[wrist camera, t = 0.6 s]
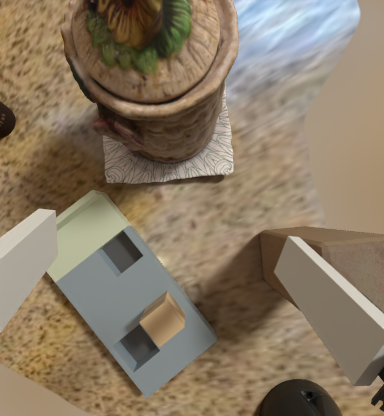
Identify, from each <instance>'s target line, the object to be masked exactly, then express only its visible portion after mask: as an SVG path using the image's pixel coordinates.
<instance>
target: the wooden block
mask: <svg viewBox="0 0 384 416" xmlns="http://www.w3.org/2000/svg"><path fill="white" fill-rule="evenodd" d="M288 236H294V237H300V238H301V239H302V240H303V241H304V242H305V243H306V244H307V245H308V246H310V247H311V248H312V249H313V250H314V251H315V252H316V253H317V254H318V255H320V256H321V257H322V258H323V259H324V260H325V261H326V262H327V263H328V264H329V265H331V266H332V267H333V268H334V269H335V270H336V271H337V272H338V273H339V274H340V275H342V276H343V277H344V278H345V279H346V280H347V281H348V282H349V283H350V284H351V285H353V286H354V287H355V288H356V289H357V290H358V291H360V292H361V293H363V294H364V295H365V296H366V297H368V298H369V299H370V300H371V301H372V302H373V304H374V305H376V306H378V307H379V308H380V309H381V310H382V312H384V235H383V234H374V233H364V232H354V231H344V230H335V229H325V228H315V227H295V228H284V229H273V230H264V231H262V232H261V233H260V244H261V254H262V264H263V274H264V279H265V281H266V282H267V283H268V284H269V285H270V286H272V287H273V288H274V289H275V290H276V291H277V292H279V293H280V294H281V295H282V296H283V297H285V298H286V299H287V300H288V301H289V302H291V303H292V304H293V305H294V306H295V307H296V308H298V309H299V307H298V306H297V305H296V303H295V302H294V300H293V299H292V297H291V296H290V294H289V293H288V292H287V290H286V289H285V287H284V286H283V284H282V283H281V282H280V280H279V279H278V277H277V276H276V274H275V273H274V270H275V268H276V265H277V263H278V260H279V258H280V255H281V253H282V250H283V248H284V245H285V242H286V240H287V237H288ZM299 310H300V309H299ZM300 311H301V310H300Z"/></svg>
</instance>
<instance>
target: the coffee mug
mask: <svg viewBox="0 0 384 416" xmlns="http://www.w3.org/2000/svg"><path fill="white" fill-rule="evenodd" d="M15 122H16V120H15V116H14V114H13V112H12V111H11V110H10V109H9V108H8V107H7V106H5V105H4V104H3V103H1V102H0V138H1V137H5V136H7V135H9V134H10V133H11V132H12V131H13V129H14V127H15Z"/></svg>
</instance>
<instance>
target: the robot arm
mask: <svg viewBox="0 0 384 416" xmlns="http://www.w3.org/2000/svg"><path fill="white" fill-rule="evenodd" d="M57 256H58V245H57V226H56V210H47V209H38V210H36V211H35V212H34V213H33V214H31V215H30V216H29V217H27V218H26V219H25V220H23V221H22V222H21V223H19V224H18V225H17V226H15V227H14V228H13V229H11V230H10V231H9V232H7V233H6V234H5V235H3V236H2V237H1V238H0V332H1V331H2V330H3V328H4V327H5V326H6V324H7V323H8V322H9V320H10V319H11V318H12V316H13V315H14V314H15V312H16V311H17V310H18V308H19V307H20V306H21V304H22V303H23V302H24V300H25V299H26V298H27V296H28V295H29V294H30V292H31V291H32V290H33V288H34V287H35V286H36V284H37V283H38V282H39V280H40V279H41V278H42V276H43V275H44V274H45V272H46V271H47V270H48V268H49V267H50V266H51V264H52V263H53V262H54V260H55V259H56V258H57ZM274 273H275V274H276V276H277V277H278V279H279V280H280V282H281V283H282V284H283V286H284V287H285V289H286V290H287V292H288V293H289V294H290V296H291V297H292V299H293V300H294V302H295V303H296V305H297V306H298V307H299V309H300V310H301V312H302V313H303V315H304V316H305V317H306V319H307V320H308V322H309V323H310V325H311V326H312V327H313V329H314V330H315V332H316V333H317V335H318V336H319V338H320V339H321V340H322V342H323V343H324V345H325V346H326V348H327V349H328V350H329V352H330V353H331V355H332V356H333V358H334V359H335V360H336V362H337V363H338V365H339V366H340V368H341V369H342V370H343V372H344V373H345V375H346V376H347V378H348V379H349V381H350V382H351V383H352V385H353V386H370V385H371V384H372V382H373V381H374V380H375V378H376V377H377V376H378V375H379V377H380V378H381V379H382V380H383V382H384V312H382V310H381V309H380V308H379V307H378V306H376V305H374V304H373V302H372V301H371V300H370V299H369V298H368V297H366V296H365V295H364V294H363V293H361V292H360V291H358V290H357V289H356V288H355V287H354V286H353V285H351V284H350V283H349V282H348V281H347V280H346V279H345V278H344V277H343V276H342V275H340V274H339V273H338V272H337V271H336V270H335V269H334V268H333V267H332V266H331V265H329V264H328V263H327V262H326V261H325V260H324V259H323V258H322V257H321V256H320V255H318V254H317V253H316V252H315V251H314V250H313V249H312V248H311V247H310V246H308V245H307V244H306V243H305V242H304V241H303V240H302V239H301V238H300V237H294V236H288V237H287V240H286V242H285V245H284V248H283V250H282V253H281V255H280V258H279V260H278V263H277V265H276V268H275V270H274ZM379 400H381V401H383V405H382V406H381V407H380V410H382V411H384V385H383V386H382V387H381V388H380V389H379V391H378V392H377V393H376V394H375V396H374V397H373V398H372V401H371V404H372V405H374V406H375V405H376V404H377V402H378V401H379ZM260 416H342V413H341V411H340V409H339V407H338V406H337V404H336V403H335V402H334V400H333V399H332V398H331V396H330V395H329V394H328V393H327V392H326V391H325V390H324V389H323V388H322V387H321V386H319V385H318V384H316V383H314V382H311V381H308V380H302V379H295V380H289V381H286V382H284V383H281V384H280V385H278V386H276V387H275V388H274V389H273V390H272V391H271V392H270V393H269V394H268V395H267V397H266V398H265V400H264V402H263V404H262V407H261V411H260Z"/></svg>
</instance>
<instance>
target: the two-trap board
mask: <svg viewBox="0 0 384 416" xmlns="http://www.w3.org/2000/svg"><path fill="white" fill-rule="evenodd" d="M56 226H57V245H58V256H57V258H56V259H55V260H54V262H53V263H52V264H51V266H50V267H49V268H48V270H47V271H46V272H47V273H48V274H49V275H50V277H51V278H52V279H53V281H54V282H55V283H56V284H57V286H58V287H59V288H60V289H61V291H62V292H63V293H64V294H65V296H66V297H67V298H68V300H69V301H70V302H71V303H72V305H73V306H74V307H75V308H76V310H77V311H78V312H79V314H80V315H81V316H82V317H83V319H84V320H85V321H86V322H87V324H88V325H89V326H90V327H91V329H92V330H93V331H94V333H95V334H96V335H97V336H98V338H99V339H100V340H101V341H102V343H103V344H104V345H105V347H106V348H107V349H108V350H109V352H110V353H111V354H112V355H113V357H114V358H115V359H116V361H117V362H118V363H119V364H120V366H121V367H122V368H123V369H124V371H125V372H126V373H127V374H128V376H129V377H130V378H131V380H132V381H133V382H134V383H135V385H136V386H137V387H138V388H139V390H140V391H141V392H142V394H143V395H144V396H145V397H146V399H147V398H148V397H150V396H151V395H152V394H153V393H154V392H156V391H157V390H158V389H159V388H160V387H162V386H163V385H164V384H165V383H167V382H168V381H169V380H170V379H171V378H173V377H174V376H175V375H176V374H177V373H179V372H180V371H181V370H182V369H183V368H185V367H186V366H187V365H188V364H189V363H191V362H192V361H193V360H194V359H195V358H197V357H198V356H199V355H200V354H202V353H203V352H204V351H205V350H206V349H208V348H209V347H210V346H211V345H212V344H214V343H215V342H216V341H217V336H216V332H215V330H214V329H213V328H212V326H211V325H210V324H209V323H208V321H207V320H206V319H205V318H204V316H203V315H202V314H201V313H200V311H199V310H198V309H197V307H196V306H195V305H194V304H193V302H192V301H191V300H190V299H189V297H188V296H187V295H186V294H185V292H184V291H183V290H182V289H181V287H180V286H179V285H178V283H177V282H176V281H175V280H174V278H173V277H172V276H171V275H170V273H169V272H168V271H167V270H166V268H165V267H164V266H163V265H162V263H161V262H160V261H159V259H158V258H157V257H156V256H155V254H154V253H153V252H152V251H151V249H150V248H149V247H148V246H147V244H146V243H145V242H144V241H143V239H142V238H141V237H140V235H139V234H138V233H137V232H136V230H135V229H134V228H133V227H132V225H131V224H130V223H129V222H128V220H127V219H126V218H125V217H124V215H123V214H122V213H121V211H120V210H119V209H118V208H117V206H116V205H115V204H114V203H113V201H112V200H111V199H110V198H109V196H108V195H107V194H106V193H104V192H101V191H97V190H93V189H92V190H91V191H90V192H88V193H87V194H86V195H85V196H83V197H82V198H81V199H79V200H78V201H77V202H75V203H74V204H73V205H72V206H70V207H69V208H68V209H66V210H65V211H64V212H63V213H61V214H60V215H59V216H57V217H56ZM166 291H168V292H169V293H170V294H171V296H172V297H173V298H174V299H175V301H176V302H177V303H178V305H179V306H180V307H181V308H182V310H183V311H184V312H185V327H184V328H183V329H182V330H180V331H179V332H178V333H177V334H176V335H174V336H173V337H172V338H171V339H169V340H168V341H167V342H166V343H165V344H163V345H162V346H161V347H160V348H159V347H158V345H157V344H156V343H155V342H154V340H153V339H152V338H151V336H150V335H149V334H148V333H147V331H146V330H145V329H144V328H143V326H142V325H141V324H140V323H139V322H140V320H141V317H142V315H143V313H144V310H145V308H147V307H148V306H149V305H150V304H152V303H153V302H154V301H155V300H156V299H158V298H159V297H160V296H161V295H163V294H164V293H165V292H166Z"/></svg>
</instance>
